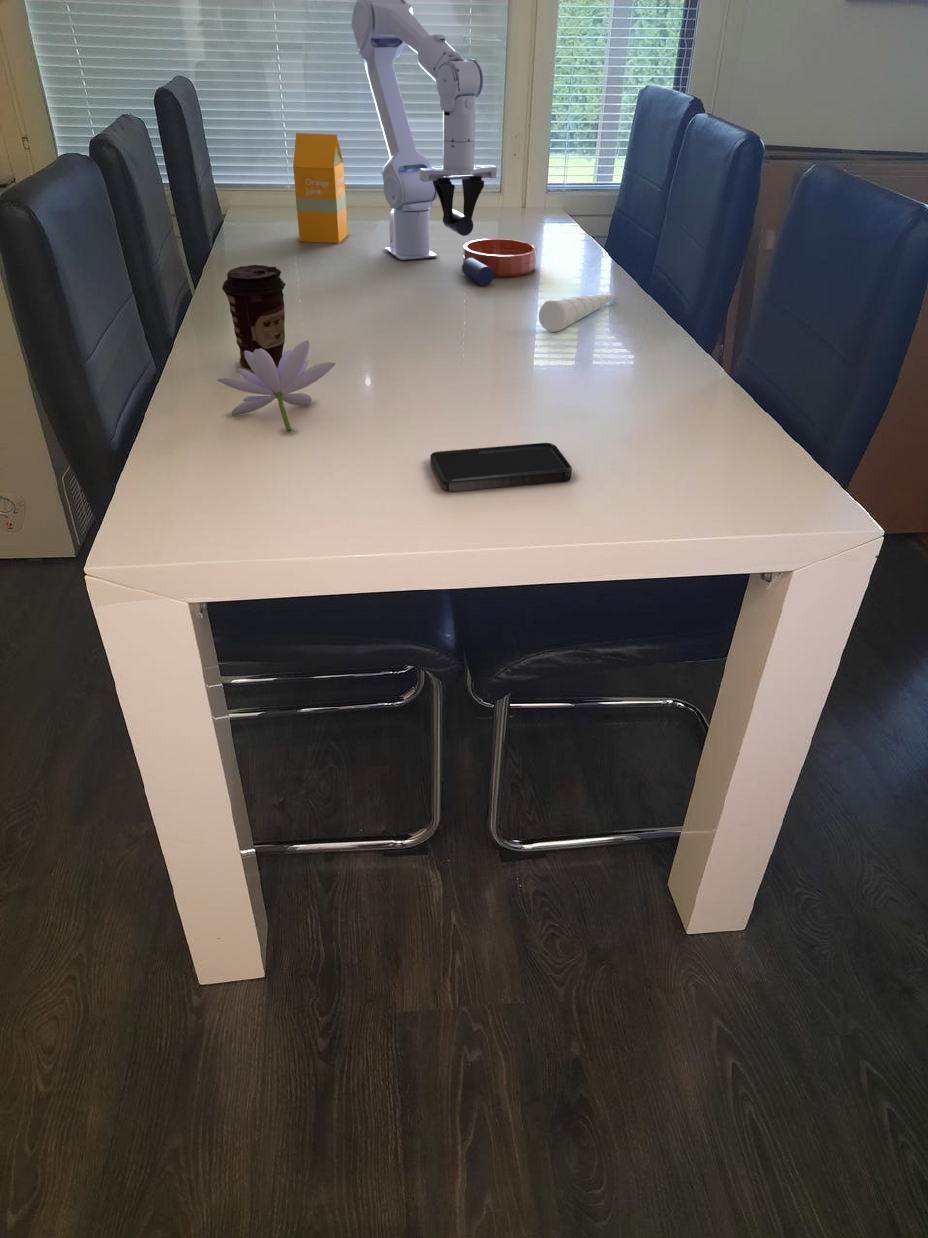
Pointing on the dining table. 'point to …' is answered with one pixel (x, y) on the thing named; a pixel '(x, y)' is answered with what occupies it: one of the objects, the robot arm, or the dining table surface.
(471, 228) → the black cylinder
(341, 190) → the orange juice
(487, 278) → the navy tube
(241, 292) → the coffee cup
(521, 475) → the phone
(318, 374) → the water lily
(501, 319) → the dining table surface
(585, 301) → the unicorn horn
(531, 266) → the bowl
